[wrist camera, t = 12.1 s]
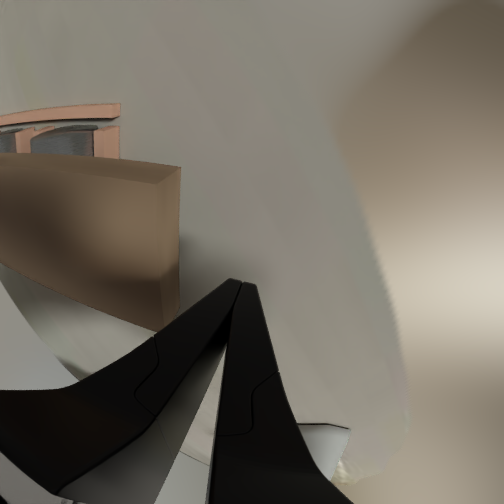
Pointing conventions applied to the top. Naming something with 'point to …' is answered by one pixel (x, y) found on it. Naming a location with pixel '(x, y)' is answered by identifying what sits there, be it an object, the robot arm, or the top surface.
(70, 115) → the roller track
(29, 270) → the walnut board
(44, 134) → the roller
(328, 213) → the top surface
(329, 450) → the flask
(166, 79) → the top surface
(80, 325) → the top surface
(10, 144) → the middle roller
